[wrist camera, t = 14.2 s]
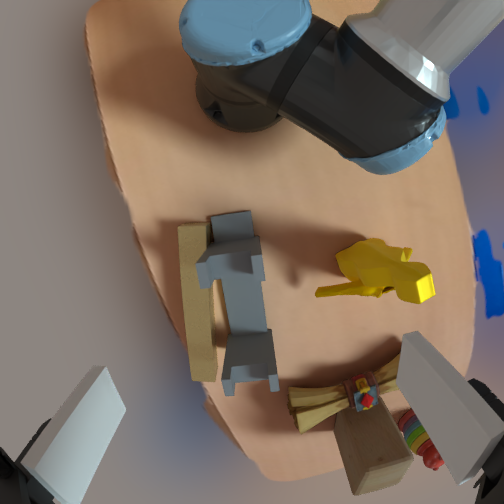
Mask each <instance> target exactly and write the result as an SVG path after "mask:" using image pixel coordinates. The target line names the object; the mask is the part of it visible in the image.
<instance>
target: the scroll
mask: <svg viewBox="0 0 504 504" xmlns="http://www.w3.org/2000/svg"><path fill="white" fill-rule="evenodd" d="M400 354H401V353H400ZM400 354H398V355H397V356H396V357H395V358H394V359H393V360H392V361H391V362H389V363H388V364H386V365H385V366H383V367H382V368H380V369H379V370H377V371H375V372H373V373H372V372H371V371H369V372H367V373H365V374H359V375H357V376H354V377H351V379H349V380H345V381H343V383H342V384H341V385H337V386H332V387H325V388H296V387H288V390H289V394H288V400H289V402H288V404H287V405H288V409H289V413H290V415H293V418H294V424H295V426H296V427H297V429H298V428H299V432H300V433H301V435H302V434H303V433H305V432H306V431H308V430H309V429H311V428H312V427H313V426H315V425H317V424H318V423H320V422H321V421H323V420H324V419H326V418H327V417H329V416H331V415H333V414H335V413H337V412H339V411H341V410H342V409H345V408H347V407H351V408H354V407H356V411H357V412H359V411H361V410H365V409H366V410H368V409H370V408H371V407H372V406H374V405H377V404H378V398H379V395H381V394H384V393H387V392H391V391H395V390H399V388H398V386H397V384H396V379H397V373H398V367H399V360H400Z"/></svg>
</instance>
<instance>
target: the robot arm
mask: <svg viewBox="0 0 504 504" xmlns="http://www.w3.org/2000/svg"><path fill="white" fill-rule="evenodd" d="M502 19H504V0H380V1H379V3H378V4H377V5H376V7H375V8H374V10H372V11H371V12H369V13H362V14H353V15H348V16H347V17H346V19H345V20H344V22H343V24H342V25H341V27H340V28H339V27H336V26H335V25H333V24H331V23H329V22H327V21H326V20H324V19H322V18H320V17H318V16H316V15H314V14H312V11H311V6H310V3H309V0H188V1H187V3H186V4H185V5H184V7H183V9H182V12H181V14H180V19H179V30H180V34H181V37H182V45H183V48H184V50H185V51H186V52H187V54H188V55H189V56H190V58H191V60H192V62H193V64H194V66H195V68H196V70H197V72H198V75H197V79H196V96H197V99H198V102H199V104H200V106H201V108H202V109H203V111H204V113H205V114H206V115H207V116H208V117H209V119H211V120H212V121H213V122H214V123H216V124H217V125H219V126H221V127H223V128H225V129H228V130H231V131H236V132H255V131H260V130H263V129H266V128H268V127H271V126H272V125H274V124H276V123H277V122H278V121H280V120H281V119H282V118H283V117H284V118H286V119H288V120H290V121H291V122H293V123H295V124H296V125H298V126H300V127H301V128H303V129H304V130H306V131H308V132H309V133H311V134H312V135H314V136H316V137H317V138H319V139H320V140H322V141H323V142H325V143H326V144H328V145H329V146H331V147H332V148H334V149H335V150H337V151H338V153H339V154H340V155H341V156H342V157H343V158H345V159H348V160H349V161H353V162H354V163H356V164H357V165H359V166H360V167H362V168H363V169H365V170H366V171H368V172H370V173H374V174H378V175H387V174H392V173H396V172H399V171H401V170H403V169H405V168H407V167H409V166H410V165H412V164H414V163H415V162H416V161H418V160H419V159H420V158H422V157H423V156H424V155H425V154H426V153H427V152H428V151H429V150H430V149H431V148H432V147H433V144H432V142H433V141H434V140H436V139H438V138H439V137H440V135H441V134H442V132H443V129H444V126H445V122H446V114H445V110H444V108H443V104H444V103H445V102H446V101H448V99H449V98H450V89H449V75H450V73H451V72H452V71H453V70H454V69H455V68H456V67H457V66H458V65H459V64H460V63H461V62H462V61H463V60H464V59H465V58H466V57H467V56H468V55H469V54H470V53H471V52H472V51H473V50H474V48H475V47H477V45H479V43H480V42H481V41H482V40H483V39H484V38H485V37H486V36H487V35H488V34H489V33H490V32H491V31H492V30H493V29H494V28H495V27H496V26H497V25H498V24H499V23H500V22H501V21H502ZM396 384H397V386H398V388H399V389H400V391H401V392H402V394H403V395H404V397H405V398H406V400H407V401H408V403H409V405H410V406H411V408H412V409H413V411H414V413H415V414H416V416H417V417H418V419H419V421H420V422H421V424H422V425H423V427H424V429H425V430H426V432H427V434H428V435H429V437H430V439H431V440H432V442H433V444H434V445H435V447H436V449H437V450H438V452H439V454H440V455H441V457H442V459H443V461H444V462H445V464H446V466H447V468H448V469H449V471H450V473H451V474H452V476H453V478H454V480H455V482H456V484H457V485H458V486H459V485H461V484H463V483H464V482H466V481H468V480H469V479H471V478H473V477H474V476H475V475H476V474H477V473H478V471H479V470H480V469H481V467H482V469H483V470H484V473H483V475H482V476H481V477H480V479H479V480H478V481H477V482H476V483H475V485H474V487H473V488H476V487H477V486H478V485H479V484H480V486H479V490H478V494H477V498H476V501H475V504H504V404H503V403H502V402H501V401H500V400H499V399H497V396H496V395H495V394H493V393H491V390H490V389H489V388H488V387H487V386H486V385H485V384H484V383H482V382H480V381H478V380H476V379H474V378H473V379H471V380H469V381H466V380H465V378H464V377H463V376H462V375H461V374H460V373H459V372H458V371H457V370H456V369H455V368H454V367H453V366H452V365H451V364H450V363H449V362H448V361H447V360H446V359H445V358H444V357H443V356H442V355H441V354H440V353H439V352H438V351H437V350H436V349H435V348H434V347H433V346H432V345H431V344H430V343H429V342H428V341H427V340H426V339H425V338H424V337H423V336H422V335H421V334H420V333H419V332H418V331H415V332H411V333H407V334H404V335H403V338H402V346H401V354H400V360H399V367H398V373H397V379H396ZM125 411H126V408H125V406H124V404H123V402H122V400H121V398H120V396H119V394H118V392H117V390H116V388H115V385H114V383H113V381H112V379H111V377H110V374H109V372H108V370H107V367H106V366H93V367H92V368H91V369H90V370H89V372H88V373H87V374H86V375H85V377H84V378H83V379H82V380H81V382H80V383H79V384H78V385H77V387H76V388H75V389H74V391H73V392H72V393H71V394H70V396H69V397H68V398H67V400H66V401H65V402H64V403H63V405H62V406H61V407H60V409H59V410H58V411H57V413H56V414H55V415H54V417H53V418H52V419H49V420H47V421H46V422H45V423H43V424H42V425H41V427H40V428H39V429H38V431H37V432H36V434H35V435H34V436H33V437H32V440H30V441H29V443H28V444H27V446H26V447H25V448H24V450H23V451H22V453H21V454H20V455H19V457H18V458H17V460H16V461H15V462H13V461H12V460H11V458H10V457H9V456H8V455H7V454H6V452H5V451H4V450H3V449H2V448H1V447H0V504H55V503H54V502H53V501H52V500H53V498H54V497H55V498H56V499H57V500H58V501H59V502H61V503H62V504H80V503H81V501H82V499H83V497H84V495H85V492H86V490H87V488H88V486H89V484H90V482H91V480H92V478H93V475H94V473H95V471H96V469H97V467H98V465H99V463H100V461H101V459H102V457H103V455H104V453H105V451H106V449H107V446H108V445H109V442H110V441H111V439H112V437H113V435H114V433H115V431H116V429H117V427H118V425H119V423H120V421H121V419H122V417H123V415H124V413H125Z"/></svg>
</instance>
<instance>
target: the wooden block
mask: <svg viewBox="0 0 504 504" xmlns="http://www.w3.org/2000/svg"><path fill="white" fill-rule="evenodd" d="M334 434H335V438H336V441H337V444H338V447H339V451H340V454H341V457H342V460H343V464H344V467H345V470H346V474H347V477H348V480H349V484H350V487H351V491H352V493H353V495H361V494H365V493H369V492H373V491H377V490H380V489H384V488H387V487H390V486H393V485H396V484H398V483H399V482H400V481H401V479H402V478H403V476H404V475H405V473H406V471H407V470H408V468H409V467H410V465H411V463H412V462H413V459H414V458H413V454H412V452H411V450H410V448H409V447H408V445H407V443H406V441H405V439H404V437H403V436H402V434H401V432H400V430H399V428H398V426H397V425H396V423H395V421H394V419H393V417H392V416H391V414H390V412H389V410H388V408H387V407H386V405H385V403H384V401H383V400H382V398H381V397H380V396H379V398H378V404H377V405H374V406H372V407H371V408H370V409H368V410H366V409H365V410H361V411H359V412H357V411H356V407H354V408H351V407H347V408H345V409H342V410H341V411H339V412H338V413H337V417H336V422H335V427H334Z"/></svg>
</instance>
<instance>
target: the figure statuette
mask: <svg viewBox="0 0 504 504" xmlns="http://www.w3.org/2000/svg"><path fill="white" fill-rule="evenodd" d="M411 254H412V249H411V248H406V247H404V248H403V249H402V248H399V247H391V246H386V244H385V242H384V241H383V240H381V239H377V238H370V239H367V240H365V241H358V242H357V243H355V244H354V245H352V246H351V247H349V248H347V249H345V250H343V251H341V252H338V253H337V254H336V255H335V256H336V259H337V262H338V265H339V268H340V270H341V272H342V273H343V274H344V276H345V277H346V278H347V279H349V280H350V281H352V282H349V283H343V284H338V285H332V286H325V287H318V289H317V290H316V292H315V296H316V297H327V296H336V295H360V296H374V297H377V298H379V297H381V296H382V294H383V293H388V292H390V291H392V290H396V293H397V296H398V298H399V299H401V300H403V301H406V302H411V303H415V304H421V303H422V302H424V301H426V300H427V299H429V298H431V297H432V296H435V289H434V284H433V279H432V274H431V271H430V270H429V268H428V267H427V266H426V265H425V264H424V263H420V262H408V260H409V259H410V256H411Z"/></svg>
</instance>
